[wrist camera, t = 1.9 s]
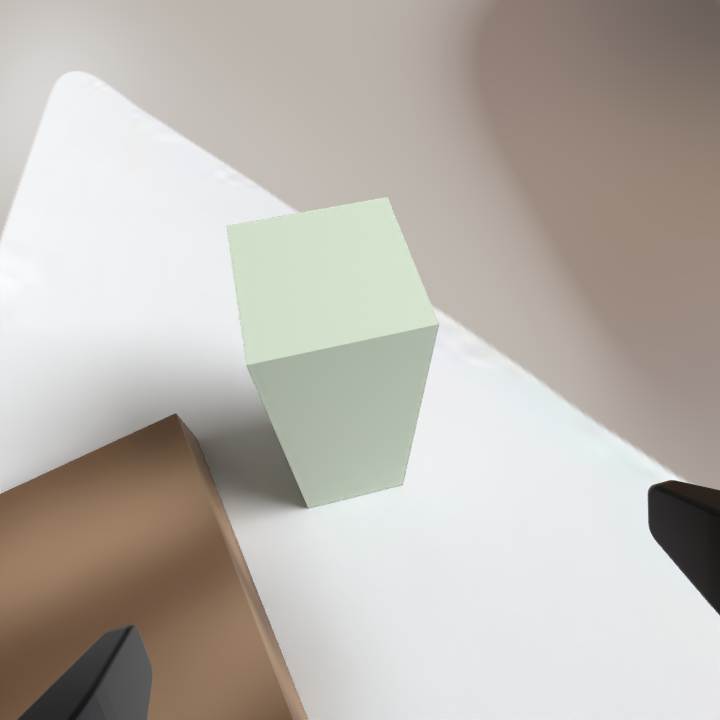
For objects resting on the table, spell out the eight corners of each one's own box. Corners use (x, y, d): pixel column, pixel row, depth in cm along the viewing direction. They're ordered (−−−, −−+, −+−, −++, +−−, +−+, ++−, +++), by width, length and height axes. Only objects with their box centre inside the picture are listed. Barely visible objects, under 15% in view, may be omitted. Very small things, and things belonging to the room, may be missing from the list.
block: (402, 484, 22) (438, 324, 11) (308, 508, 22) (246, 365, 11) (378, 400, 24) (387, 197, 13) (291, 420, 24) (226, 225, 13)
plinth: (323, 758, 17) (315, 778, 15) (68, 934, 15) (5, 995, 12) (196, 438, 23) (175, 413, 21) (5, 530, 21) (-45, 514, 19)
